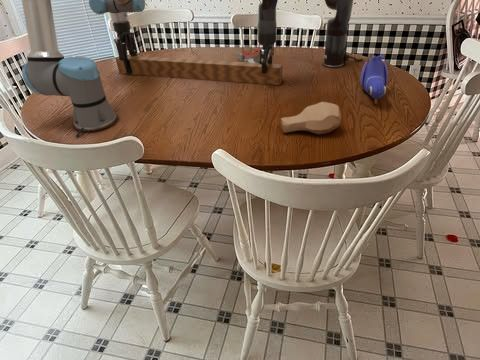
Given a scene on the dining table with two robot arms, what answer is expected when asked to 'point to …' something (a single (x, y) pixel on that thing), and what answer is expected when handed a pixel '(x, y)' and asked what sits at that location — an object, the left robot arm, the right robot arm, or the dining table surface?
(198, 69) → the bar
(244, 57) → the tape dispenser
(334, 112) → the squash
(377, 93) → the toy
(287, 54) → the dining table surface
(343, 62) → the right robot arm
